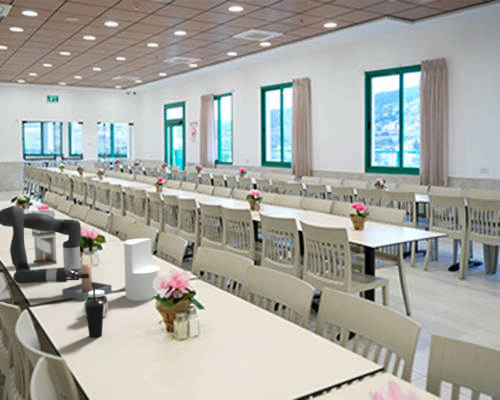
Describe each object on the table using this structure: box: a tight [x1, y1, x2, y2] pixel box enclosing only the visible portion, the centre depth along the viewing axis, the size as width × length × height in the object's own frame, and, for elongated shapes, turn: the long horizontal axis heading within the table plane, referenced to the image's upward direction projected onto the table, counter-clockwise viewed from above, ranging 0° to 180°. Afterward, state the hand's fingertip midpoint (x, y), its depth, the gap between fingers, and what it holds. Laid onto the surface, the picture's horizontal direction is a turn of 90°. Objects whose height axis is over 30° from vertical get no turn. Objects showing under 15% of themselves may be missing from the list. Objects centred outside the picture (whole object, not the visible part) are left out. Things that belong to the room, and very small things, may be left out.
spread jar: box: [82, 290, 109, 320], centre depth 221 cm, size 12×11×12 cm
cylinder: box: [123, 237, 161, 302], centre depth 252 cm, size 17×17×28 cm
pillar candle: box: [81, 263, 93, 293], centre depth 256 cm, size 5×5×14 cm
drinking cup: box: [83, 287, 104, 339], centre depth 198 cm, size 8×8×20 cm
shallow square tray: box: [61, 281, 112, 302], centre depth 257 cm, size 18×16×4 cm
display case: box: [30, 208, 58, 267], centre depth 323 cm, size 11×11×35 cm
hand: (90, 273), depth 256 cm, fingers open, 8 cm apart
